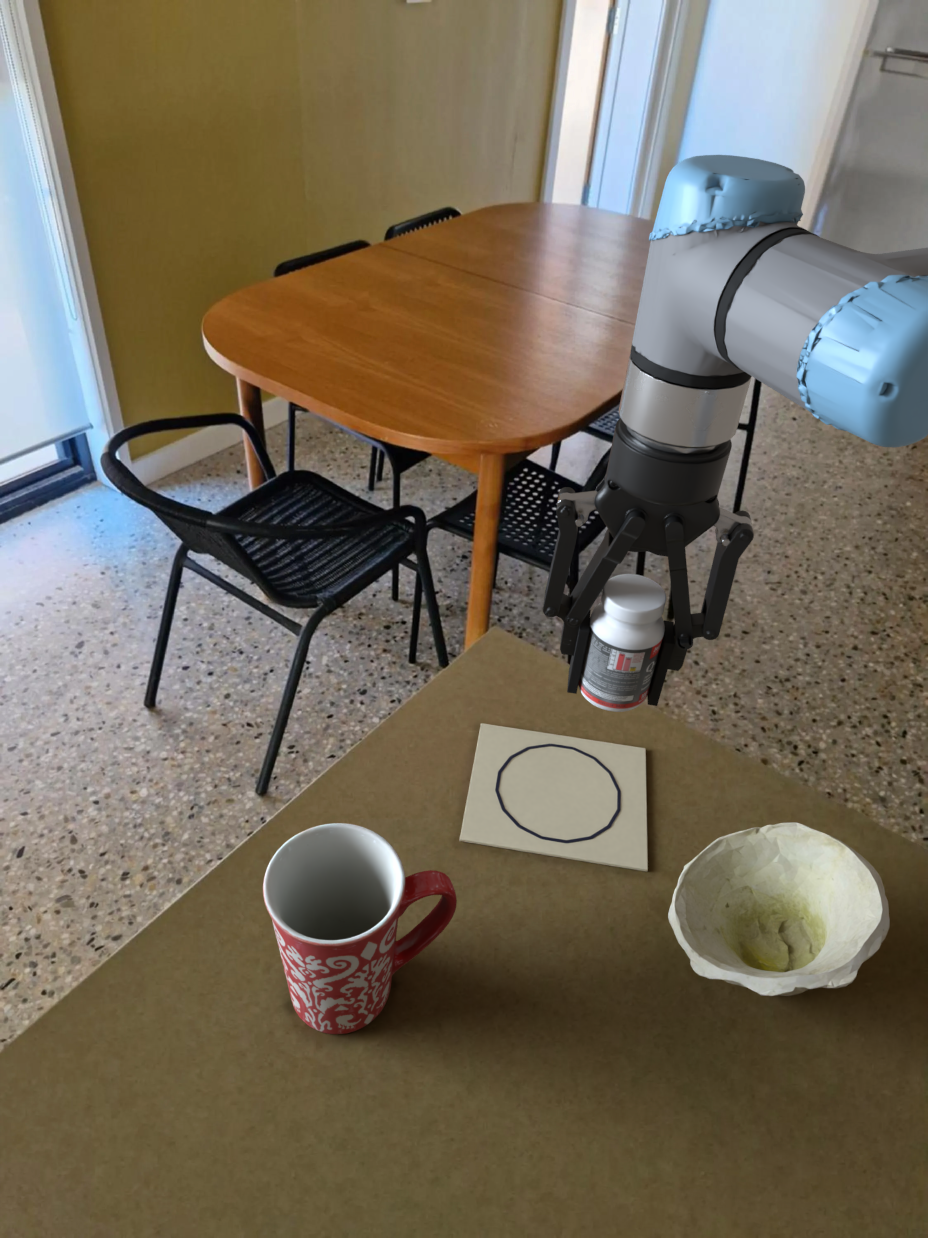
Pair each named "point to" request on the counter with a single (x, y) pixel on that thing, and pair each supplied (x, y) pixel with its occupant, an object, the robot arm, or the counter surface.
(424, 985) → the counter surface
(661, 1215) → the counter surface
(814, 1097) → the counter surface
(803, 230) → the robot arm
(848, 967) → the bowl
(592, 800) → the beige flat square sheet
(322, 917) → the mug
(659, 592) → the pill bottle
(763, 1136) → the counter surface
